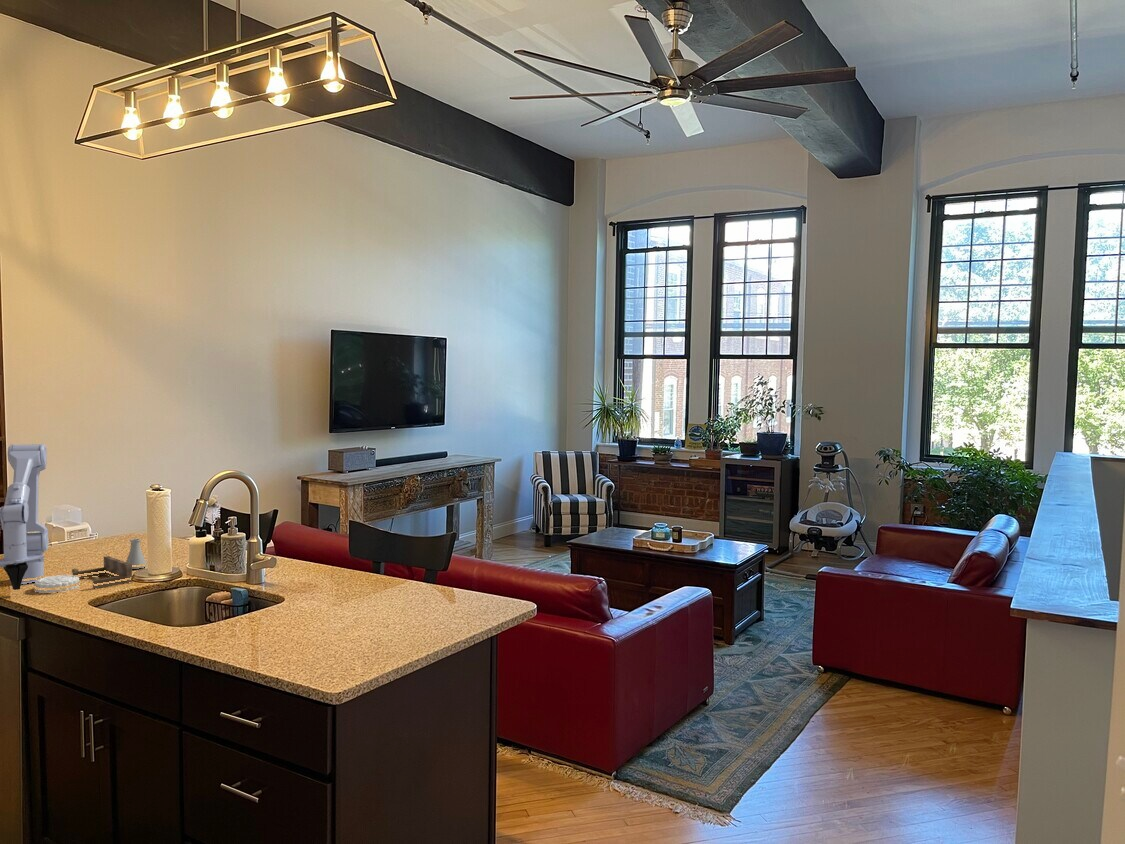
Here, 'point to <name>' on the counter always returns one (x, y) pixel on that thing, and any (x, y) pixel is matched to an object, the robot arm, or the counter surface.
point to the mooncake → (56, 583)
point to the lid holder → (112, 566)
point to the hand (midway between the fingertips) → (16, 589)
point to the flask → (136, 554)
